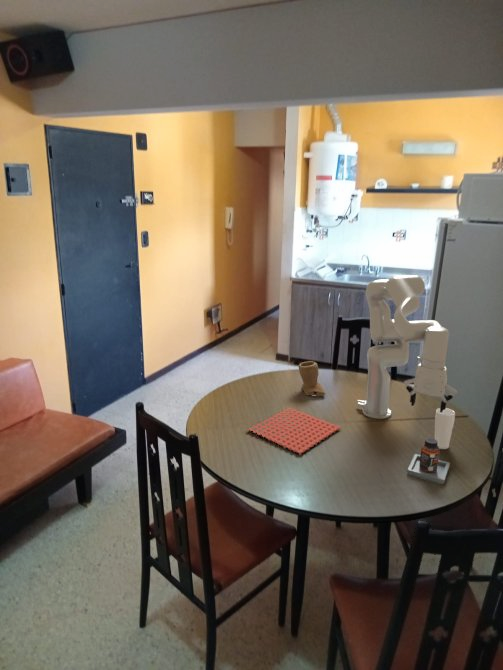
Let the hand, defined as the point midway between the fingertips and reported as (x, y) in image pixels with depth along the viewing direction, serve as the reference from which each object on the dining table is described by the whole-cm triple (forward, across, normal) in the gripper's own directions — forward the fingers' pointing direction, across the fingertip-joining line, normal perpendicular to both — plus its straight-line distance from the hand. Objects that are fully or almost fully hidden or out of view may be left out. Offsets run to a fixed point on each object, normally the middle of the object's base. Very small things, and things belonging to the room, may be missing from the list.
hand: (427, 407), depth 163 cm
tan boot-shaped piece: (+24, -60, +37) cm, 75 cm away
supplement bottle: (+21, +4, -5) cm, 22 cm away
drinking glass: (+22, +5, +14) cm, 27 cm away
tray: (+22, +4, -6) cm, 23 cm away
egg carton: (+24, -50, -3) cm, 55 cm away
